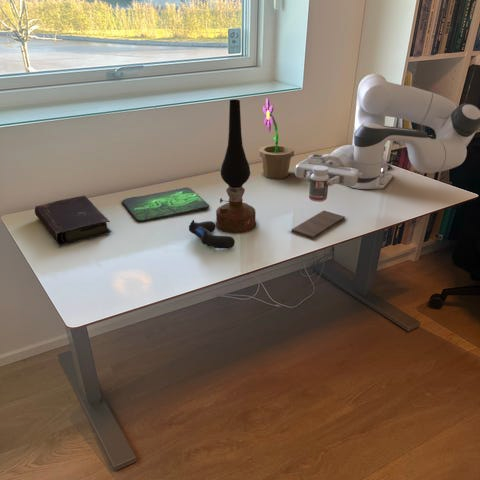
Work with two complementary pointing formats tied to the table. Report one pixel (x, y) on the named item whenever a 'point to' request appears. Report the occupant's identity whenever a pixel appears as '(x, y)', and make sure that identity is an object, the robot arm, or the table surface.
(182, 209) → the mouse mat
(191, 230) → the gaming controller
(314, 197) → the pill bottle
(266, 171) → the flowerpot
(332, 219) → the walnut board
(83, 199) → the diary
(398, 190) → the table surface
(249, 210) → the oil lamp
